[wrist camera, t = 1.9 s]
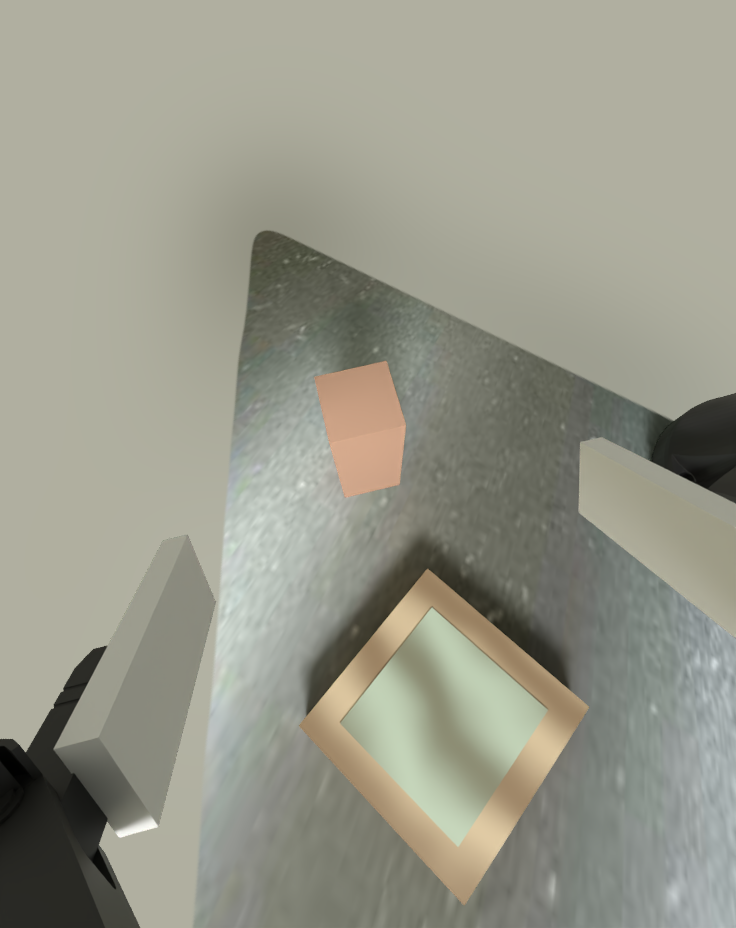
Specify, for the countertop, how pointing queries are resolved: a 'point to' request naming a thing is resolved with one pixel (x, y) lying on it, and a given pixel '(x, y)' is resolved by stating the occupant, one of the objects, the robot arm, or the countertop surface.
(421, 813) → the oak picture frame
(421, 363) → the countertop surface
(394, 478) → the tall block
